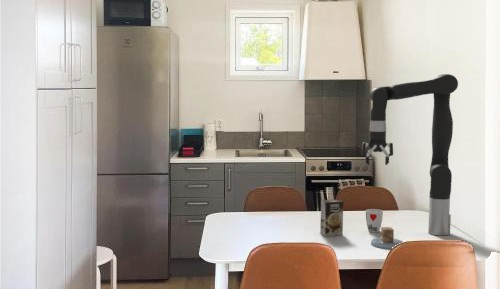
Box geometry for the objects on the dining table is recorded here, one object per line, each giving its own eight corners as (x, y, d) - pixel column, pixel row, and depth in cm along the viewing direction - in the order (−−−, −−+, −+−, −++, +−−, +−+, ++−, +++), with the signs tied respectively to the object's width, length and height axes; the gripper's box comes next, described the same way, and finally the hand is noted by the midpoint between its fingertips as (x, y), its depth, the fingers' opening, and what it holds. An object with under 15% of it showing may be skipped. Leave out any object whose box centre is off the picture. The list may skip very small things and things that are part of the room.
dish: (400, 240, 255) (400, 237, 254) (406, 249, 241) (406, 246, 241) (368, 240, 255) (368, 237, 255) (373, 248, 241) (373, 245, 241)
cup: (361, 230, 273) (362, 210, 272) (372, 228, 278) (372, 208, 277) (375, 234, 266) (375, 213, 265) (385, 231, 272) (386, 210, 271)
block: (391, 240, 250) (391, 227, 249) (393, 243, 246) (393, 229, 245) (381, 240, 250) (381, 227, 250) (382, 243, 246) (383, 229, 245)
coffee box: (325, 236, 262) (325, 202, 260) (319, 233, 268) (320, 199, 267) (343, 235, 264) (343, 201, 263) (337, 231, 271) (337, 198, 269)
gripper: (391, 129, 266) (390, 163, 267) (361, 129, 266) (360, 163, 268) (394, 130, 258) (394, 165, 260) (363, 130, 259) (362, 165, 261)
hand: (377, 164), depth 264 cm, fingers open, 8 cm apart
